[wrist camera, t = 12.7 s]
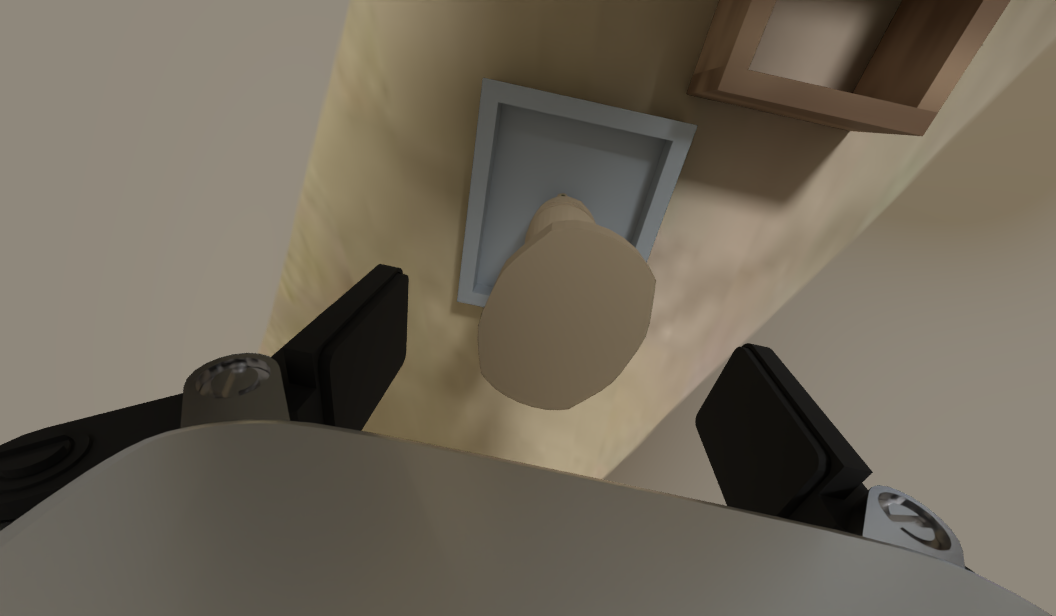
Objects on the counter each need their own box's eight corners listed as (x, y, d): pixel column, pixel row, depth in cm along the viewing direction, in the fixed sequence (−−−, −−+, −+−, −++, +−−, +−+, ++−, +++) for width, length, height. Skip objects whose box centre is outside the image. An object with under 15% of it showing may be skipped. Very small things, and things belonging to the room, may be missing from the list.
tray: (490, 80, 22) (482, 77, 20) (684, 124, 22) (697, 125, 20) (465, 287, 29) (457, 301, 27) (614, 319, 29) (619, 335, 27)
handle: (619, 188, 24) (691, 276, 10) (572, 272, 26) (580, 427, 13) (550, 153, 23) (533, 199, 10) (510, 243, 26) (453, 375, 13)
